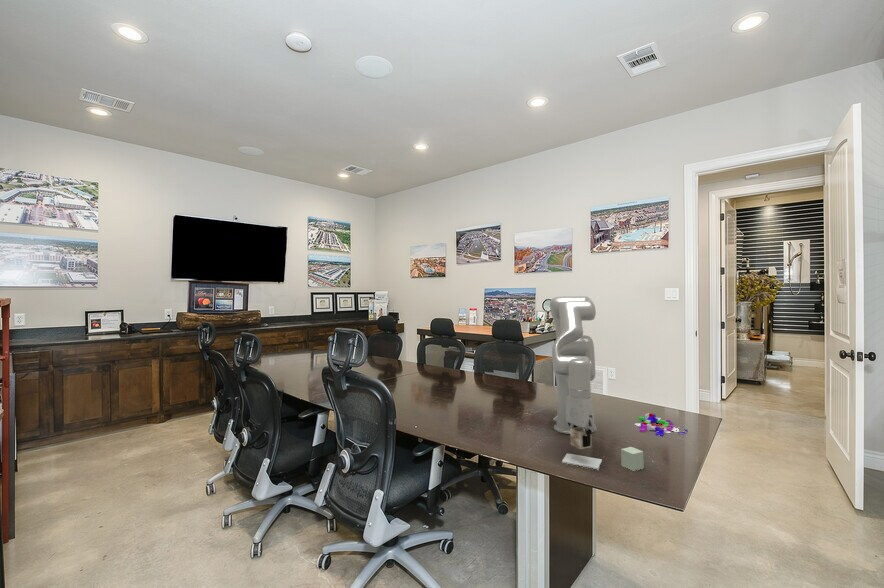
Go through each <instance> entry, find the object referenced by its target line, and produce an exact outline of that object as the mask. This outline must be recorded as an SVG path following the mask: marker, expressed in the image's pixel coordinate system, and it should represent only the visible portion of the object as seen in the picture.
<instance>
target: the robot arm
mask: <svg viewBox="0 0 884 588" xmlns="http://www.w3.org/2000/svg"><path fill="white" fill-rule="evenodd" d="M549 309H550V313H551V317H552V319H553V321H554V324H555V335H556V339H555V341H554V342H553V345H552V348H551V349H552V350H551V361H552V368H553V369H552V370H553V372H554V375H555V382H556V383H555V384H556V385H555V386H556V409H557V410H556V415H555V416H554V417H553V419H552V420H553V421H555V423H556V424H554V425H553V429H554V431H555V432H558V433H559V434H560V433H561V434H564V435H570V428H575V427H581V428H582V429H583V434H584V435H583V447H588V446H591V447H592V436H593V435H592V434H594V432H596V431H597V430H598V428H597V426H596V424H595V411H594V405H593V399H592V395H591V394H592V392H591V391H592V389H591V382H592V381H594V379H595V378H596V359H595V357H596V355H595V344H594V341H593V338H592V337H591V336H590V335H584V329H583V321H593V320H594V319H596V314H597V312H596V306H595V304H594V302H593V300H592V298H590V297H589V296H586V295H585V296H583V295H582V296H581V295H579V296H570V295H569V296H556V297H553V298H552V299H551V300H550V301H549ZM586 429H588V430H587V431H586ZM590 435H591V437H590Z"/></svg>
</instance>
